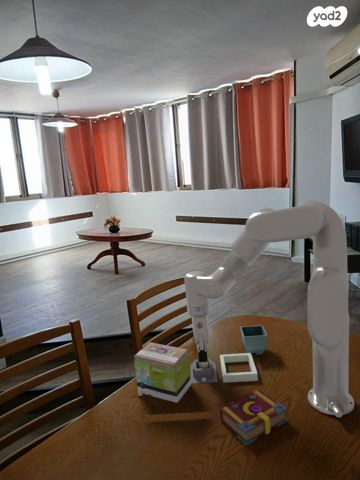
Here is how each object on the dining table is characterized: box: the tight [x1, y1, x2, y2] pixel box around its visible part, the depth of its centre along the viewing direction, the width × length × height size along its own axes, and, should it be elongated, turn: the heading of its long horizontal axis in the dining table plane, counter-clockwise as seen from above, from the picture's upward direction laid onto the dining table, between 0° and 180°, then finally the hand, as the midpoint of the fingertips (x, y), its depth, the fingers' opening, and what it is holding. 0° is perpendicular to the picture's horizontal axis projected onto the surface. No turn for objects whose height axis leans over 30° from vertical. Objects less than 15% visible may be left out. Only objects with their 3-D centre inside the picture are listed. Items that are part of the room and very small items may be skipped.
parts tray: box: [219, 352, 259, 384], centre depth 121 cm, size 13×11×4 cm
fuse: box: [196, 344, 209, 368], centre depth 121 cm, size 4×4×9 cm
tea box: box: [133, 341, 192, 403], centre depth 114 cm, size 15×10×15 cm
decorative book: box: [219, 389, 288, 446], centre depth 99 cm, size 11×16×5 cm
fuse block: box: [190, 358, 218, 384], centre depth 122 cm, size 12×9×4 cm
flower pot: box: [239, 324, 268, 356], centre depth 134 cm, size 9×9×9 cm
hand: (203, 358), depth 121 cm, fingers closed on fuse, 3 cm apart
